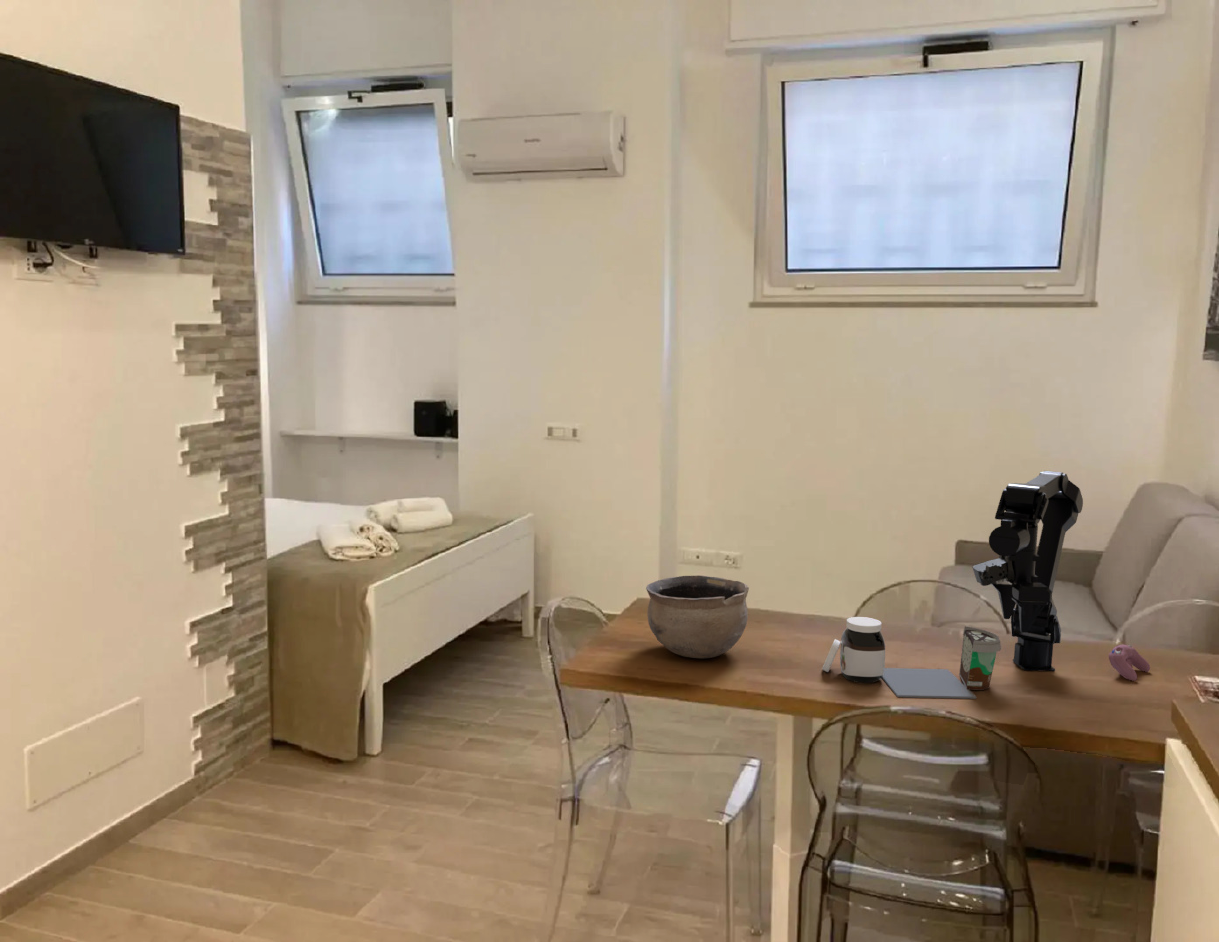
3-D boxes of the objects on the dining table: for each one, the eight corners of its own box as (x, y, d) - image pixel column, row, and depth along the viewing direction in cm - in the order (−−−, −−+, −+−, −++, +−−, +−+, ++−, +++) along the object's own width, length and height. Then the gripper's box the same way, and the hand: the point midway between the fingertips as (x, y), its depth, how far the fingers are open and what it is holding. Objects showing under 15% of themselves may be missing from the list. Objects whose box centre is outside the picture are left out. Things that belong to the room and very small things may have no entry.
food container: (1001, 696, 187) (1008, 645, 186) (967, 691, 188) (974, 641, 187) (989, 677, 199) (995, 629, 198) (958, 672, 200) (964, 625, 199)
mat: (947, 671, 201) (947, 669, 201) (976, 698, 186) (976, 696, 186) (875, 669, 202) (875, 667, 201) (897, 697, 186) (897, 695, 186)
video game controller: (1131, 674, 206) (1117, 642, 208) (1153, 670, 203) (1139, 637, 205) (1114, 685, 200) (1101, 652, 201) (1137, 680, 196) (1123, 647, 198)
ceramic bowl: (721, 676, 196) (723, 603, 194) (626, 657, 206) (628, 588, 204) (761, 648, 215) (763, 581, 213) (672, 632, 225) (674, 569, 224)
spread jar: (888, 685, 192) (891, 628, 191) (832, 686, 191) (835, 628, 190) (867, 666, 204) (870, 611, 202) (815, 666, 203) (817, 612, 202)
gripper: (963, 537, 200) (959, 611, 202) (995, 557, 182) (989, 638, 184) (1018, 539, 200) (1013, 612, 202) (1056, 559, 181) (1049, 640, 183)
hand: (1015, 625), depth 193 cm, fingers open, 9 cm apart
